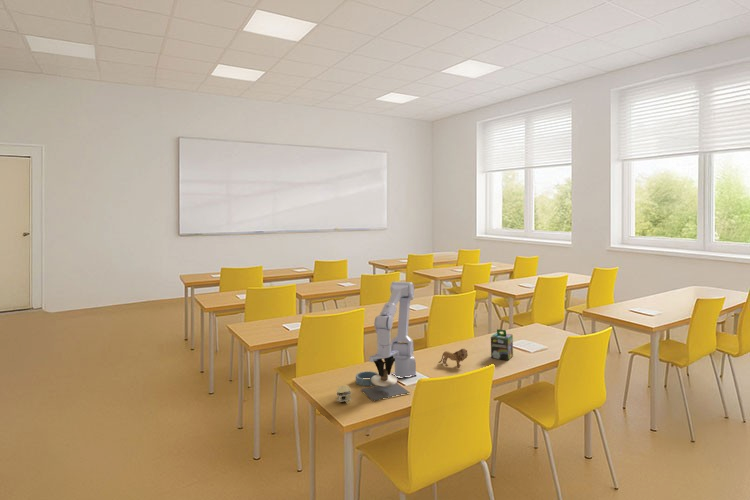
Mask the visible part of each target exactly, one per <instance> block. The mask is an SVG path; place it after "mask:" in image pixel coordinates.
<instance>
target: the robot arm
mask: <svg viewBox="0 0 750 500" xmlns="http://www.w3.org/2000/svg"><path fill="white" fill-rule="evenodd" d="M389 290H390V297H389V300H388V302H386V303H385V304H384V305H383V307H382V310H381V311H380V314H379V315H377V316H375V318H374V323H373V324H374V325H373V326H374V328H375V333H376V342H377V343H376V346H377V347H376V349H377V351H376V353H375V354H373V355H371V356H368V362H370V363H374V365H375V367H376V368H377V369H376V370H377V374H379V376H381V377H383V375H384V369H387V370H388V375H392V374H395V375H396V376H400V377H405V376H410V375H412V376H413V377H415V376H414V375H417V371H416V370H417V368H416V363H417V362H416V358H415V357H414V355H413V354H414V351H415V350H414V349H415V348H414V340H413V339H412V338H411V337H410V336H409V323H410V322H409V321H410V320H409V319H410V306H411V305H410V304H411V301H413V300H414V297H415V296H414V295H415V286H414V283H413V282H412V281H409V282H408V281H395V280H393V281H392V282H391V284H390V289H389ZM397 305H399V307H398V320H397V321H398V322H397V333H396V334H397V335H396V336H395V337H393V338H392V337H391V330H392V328H393V325H394V317H395V314H396V312H397ZM393 365H394V372H391V371H392V368H393ZM391 373H392V374H391Z"/></svg>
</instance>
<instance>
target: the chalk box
mask: <svg viewBox="0 0 750 500" xmlns="http://www.w3.org/2000/svg"><path fill="white" fill-rule="evenodd" d="M513 337H514V336H513V334H511V333H507V331H506V329H498V328H497V329H496V332H495V333H494V334H493V335H492V336H490V355H491V356H490V358H491V359H496V360H503V361H510V359H511V358H512V357H513V356H514V338H513Z"/></svg>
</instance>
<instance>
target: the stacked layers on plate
mask: <svg viewBox="0 0 750 500" xmlns="http://www.w3.org/2000/svg"><path fill="white" fill-rule="evenodd" d="M351 391H352V389H351V387H350V386H349V385H340V386H337V389H336V392H337V393H336V401H337V402H340V403H341V402H346V403H349V402H350V403H351V400H352V397H351V395H352V392H351ZM346 403H345V404H346ZM350 403H349V404H350Z"/></svg>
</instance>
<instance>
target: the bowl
mask: <svg viewBox="0 0 750 500" xmlns="http://www.w3.org/2000/svg"><path fill="white" fill-rule="evenodd" d="M378 374H379V373H378V372H376V371H371V370H369V371H367V370H366V371H360V372H359V373H356V375H355V384H357V385H359V386H361V385H362V386H363V387H371V386H370V385H372V386H375V385H374V384H373V383H372V382H371V378H372V377H373V376H374V375H378ZM363 378H370V379H363ZM362 386H361V387H362Z"/></svg>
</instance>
